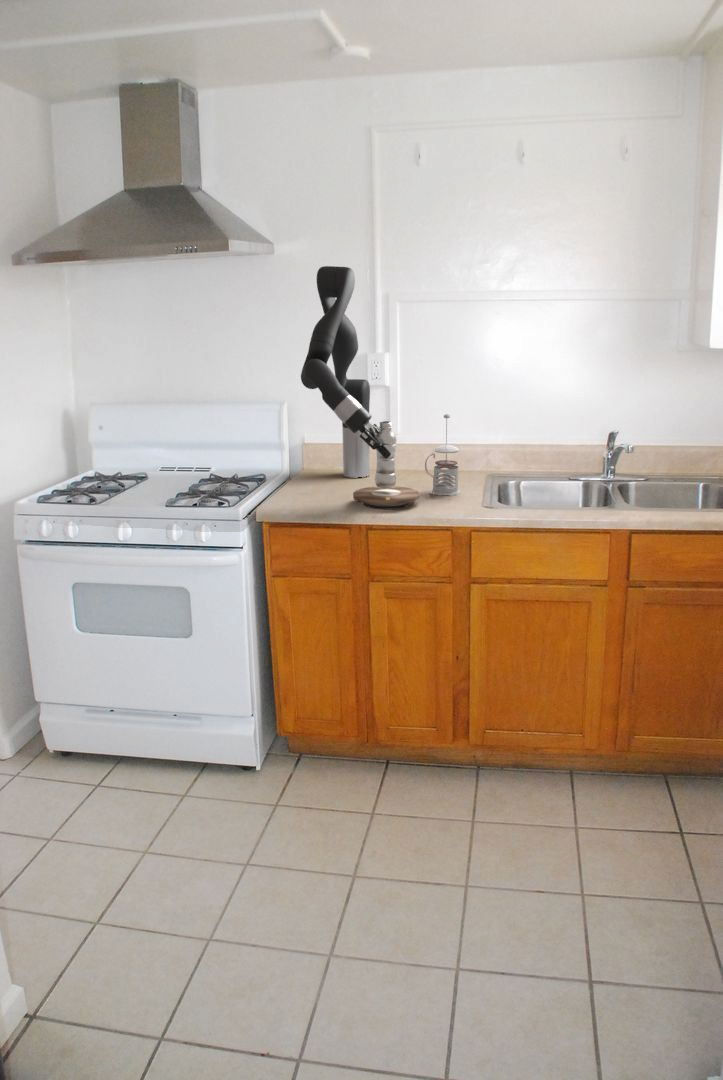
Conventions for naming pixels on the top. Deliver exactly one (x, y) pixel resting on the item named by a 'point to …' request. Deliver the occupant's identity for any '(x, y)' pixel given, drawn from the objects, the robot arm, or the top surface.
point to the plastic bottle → (386, 466)
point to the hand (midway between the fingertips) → (391, 454)
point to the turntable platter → (386, 495)
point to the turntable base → (386, 506)
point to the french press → (452, 470)
